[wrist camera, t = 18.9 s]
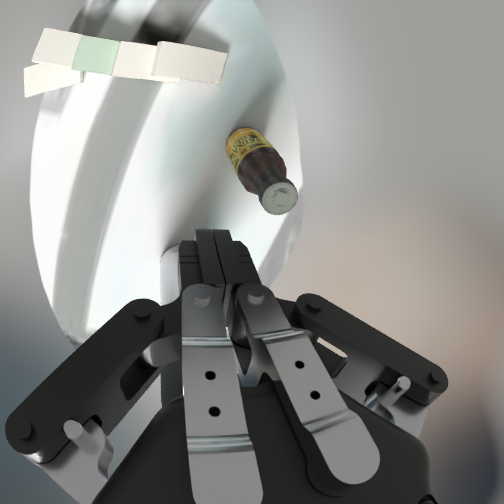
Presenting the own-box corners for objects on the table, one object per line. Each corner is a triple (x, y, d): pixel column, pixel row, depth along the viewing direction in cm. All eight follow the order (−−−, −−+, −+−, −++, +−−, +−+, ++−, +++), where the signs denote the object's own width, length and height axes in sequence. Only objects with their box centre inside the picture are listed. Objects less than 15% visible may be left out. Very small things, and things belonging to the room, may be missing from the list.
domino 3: (137, 79, 33) (71, 70, 26) (133, 78, 34) (70, 69, 27) (148, 47, 31) (82, 35, 24) (144, 47, 32) (81, 36, 25)
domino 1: (93, 71, 30) (31, 60, 23) (91, 72, 31) (32, 62, 24) (106, 40, 28) (45, 27, 21) (103, 42, 29) (45, 30, 22)
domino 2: (80, 83, 31) (25, 98, 28) (84, 82, 32) (30, 96, 30) (80, 52, 28) (23, 68, 26) (83, 52, 29) (29, 67, 27)
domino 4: (179, 83, 35) (112, 75, 29) (174, 82, 36) (109, 75, 30) (188, 52, 33) (121, 41, 27) (183, 52, 34) (118, 41, 28)
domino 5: (219, 84, 37) (154, 76, 31) (212, 83, 38) (150, 75, 32) (227, 53, 34) (162, 41, 28) (220, 53, 35) (158, 41, 29)
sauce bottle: (244, 118, 43) (288, 154, 27) (269, 143, 46) (322, 193, 31) (215, 146, 44) (240, 199, 29) (241, 170, 48) (278, 232, 32)
